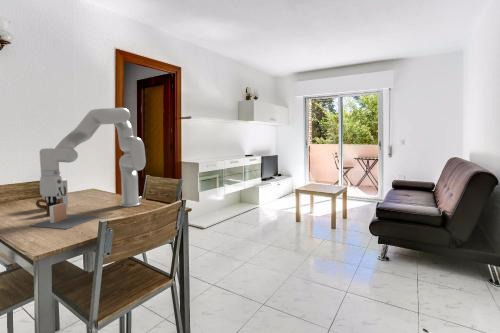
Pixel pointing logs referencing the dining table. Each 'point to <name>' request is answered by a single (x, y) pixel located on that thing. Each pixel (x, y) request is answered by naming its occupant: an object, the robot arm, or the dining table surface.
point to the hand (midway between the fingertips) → (52, 209)
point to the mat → (65, 222)
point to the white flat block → (58, 212)
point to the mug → (47, 204)
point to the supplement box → (65, 192)
